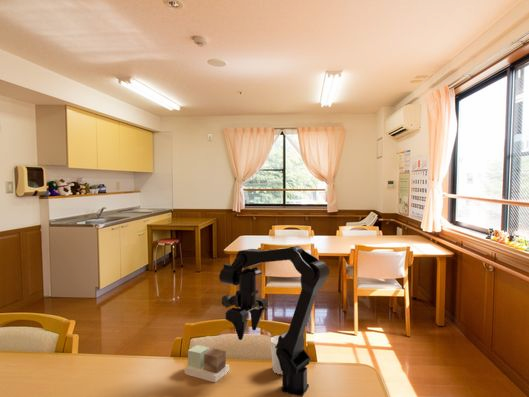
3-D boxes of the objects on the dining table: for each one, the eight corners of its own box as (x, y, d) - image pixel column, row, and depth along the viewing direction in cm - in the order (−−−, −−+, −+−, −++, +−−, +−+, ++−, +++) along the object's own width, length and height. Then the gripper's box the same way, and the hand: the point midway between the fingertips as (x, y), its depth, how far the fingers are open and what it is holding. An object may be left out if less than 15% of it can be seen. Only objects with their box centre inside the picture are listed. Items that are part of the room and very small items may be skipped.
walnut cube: (225, 366, 107) (225, 351, 107) (216, 373, 103) (216, 357, 103) (212, 363, 109) (213, 348, 110) (203, 369, 105) (203, 354, 105)
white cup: (294, 365, 113) (294, 335, 113) (294, 376, 105) (294, 345, 105) (271, 364, 113) (271, 334, 114) (269, 375, 106) (269, 344, 106)
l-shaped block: (229, 371, 108) (229, 349, 109) (215, 382, 101) (215, 359, 101) (199, 363, 114) (200, 343, 114) (184, 373, 106) (184, 352, 107)
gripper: (240, 279, 121) (240, 322, 120) (211, 290, 104) (210, 340, 104) (267, 282, 116) (267, 327, 116) (241, 294, 99) (241, 347, 99)
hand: (247, 334), depth 109 cm, fingers open, 9 cm apart
